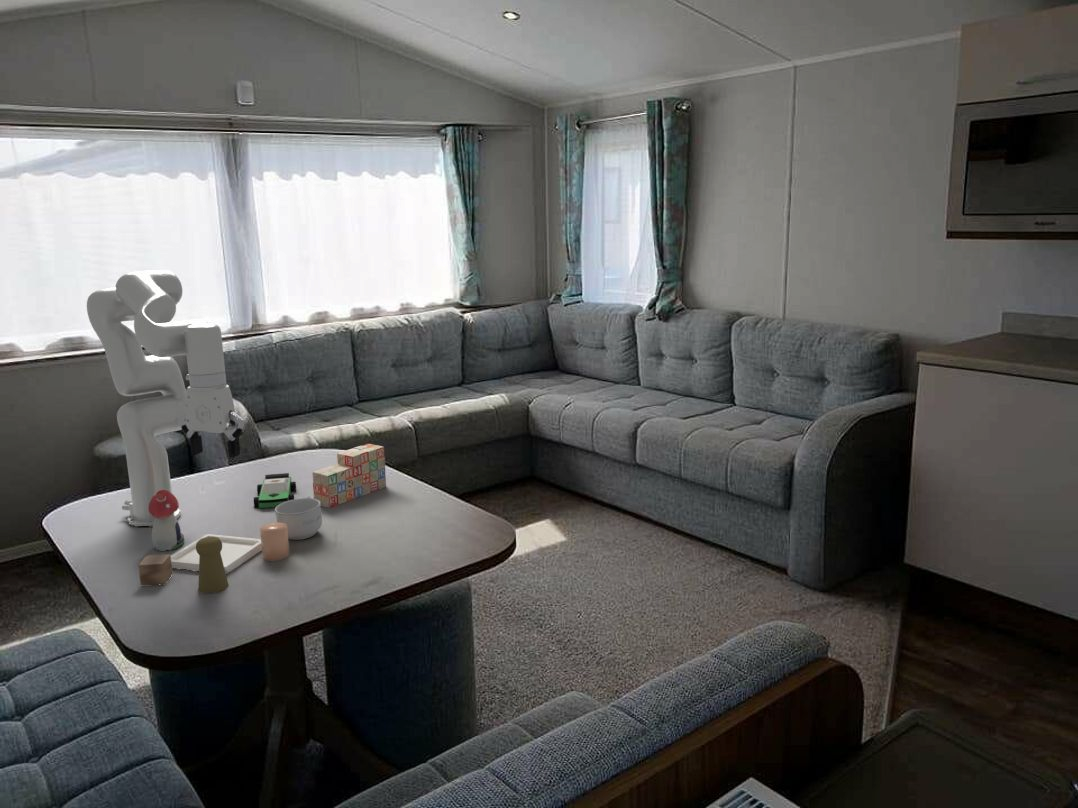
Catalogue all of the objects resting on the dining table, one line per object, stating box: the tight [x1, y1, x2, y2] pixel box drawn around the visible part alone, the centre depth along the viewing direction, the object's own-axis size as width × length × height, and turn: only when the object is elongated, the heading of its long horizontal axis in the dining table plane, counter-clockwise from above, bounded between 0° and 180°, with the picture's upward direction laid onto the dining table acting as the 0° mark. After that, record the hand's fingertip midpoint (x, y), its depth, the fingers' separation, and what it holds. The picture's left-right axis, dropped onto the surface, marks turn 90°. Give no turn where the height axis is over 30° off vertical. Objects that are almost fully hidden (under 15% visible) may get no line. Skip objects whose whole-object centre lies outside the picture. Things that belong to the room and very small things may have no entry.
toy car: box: [253, 472, 297, 509], centre depth 234 cm, size 10×19×5 cm, turn 14°
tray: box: [170, 533, 262, 575], centre depth 194 cm, size 16×16×2 cm
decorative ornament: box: [148, 490, 185, 552], centre depth 199 cm, size 9×7×15 cm
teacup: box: [274, 495, 323, 541], centre depth 207 cm, size 14×11×8 cm
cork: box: [196, 537, 229, 594], centre depth 178 cm, size 6×6×11 cm
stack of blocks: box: [312, 443, 387, 509], centre depth 234 cm, size 21×6×12 cm, turn 145°
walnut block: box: [138, 554, 174, 586], centre depth 182 cm, size 5×5×5 cm
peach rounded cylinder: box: [259, 521, 290, 562], centre depth 194 cm, size 6×6×7 cm
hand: (215, 454), depth 189 cm, fingers open, 9 cm apart
